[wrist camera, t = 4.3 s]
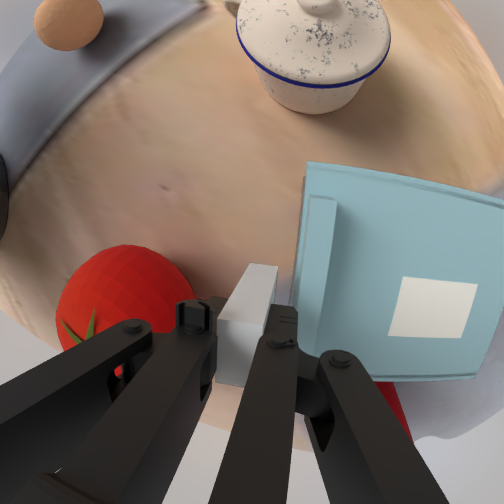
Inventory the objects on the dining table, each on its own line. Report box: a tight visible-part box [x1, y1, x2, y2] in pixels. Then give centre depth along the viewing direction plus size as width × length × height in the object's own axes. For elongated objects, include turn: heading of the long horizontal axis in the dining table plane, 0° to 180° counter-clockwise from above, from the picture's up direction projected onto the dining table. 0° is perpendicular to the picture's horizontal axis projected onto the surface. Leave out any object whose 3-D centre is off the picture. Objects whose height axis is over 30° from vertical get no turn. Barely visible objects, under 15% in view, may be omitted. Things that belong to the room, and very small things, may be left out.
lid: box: [291, 161, 504, 382], centre depth 16 cm, size 16×14×5 cm
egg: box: [34, 0, 104, 51], centre depth 18 cm, size 7×7×9 cm
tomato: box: [56, 245, 196, 376], centre depth 22 cm, size 11×11×13 cm
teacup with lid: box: [222, 0, 391, 114], centre depth 15 cm, size 12×9×12 cm
